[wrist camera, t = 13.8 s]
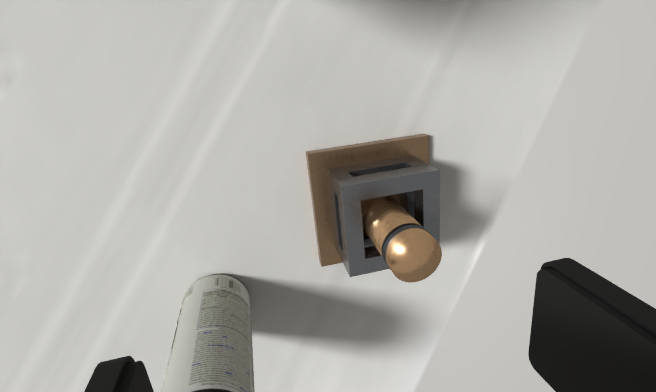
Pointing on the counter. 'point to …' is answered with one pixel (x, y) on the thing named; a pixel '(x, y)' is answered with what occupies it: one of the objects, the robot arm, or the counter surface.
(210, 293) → the spray can
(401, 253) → the copper tube
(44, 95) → the counter surface
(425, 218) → the collar stand
